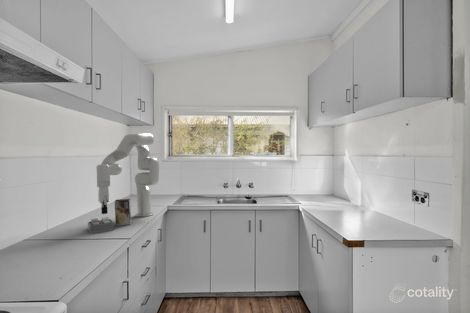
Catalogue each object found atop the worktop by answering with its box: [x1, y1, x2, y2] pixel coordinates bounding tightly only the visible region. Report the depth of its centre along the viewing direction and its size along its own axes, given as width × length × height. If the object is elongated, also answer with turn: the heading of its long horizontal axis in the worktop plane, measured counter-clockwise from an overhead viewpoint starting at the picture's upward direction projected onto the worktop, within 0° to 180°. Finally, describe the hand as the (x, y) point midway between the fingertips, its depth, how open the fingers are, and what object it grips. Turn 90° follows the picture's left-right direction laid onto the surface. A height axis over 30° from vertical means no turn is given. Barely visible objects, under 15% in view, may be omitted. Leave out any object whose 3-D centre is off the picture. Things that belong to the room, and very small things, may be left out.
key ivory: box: [101, 216, 110, 222], centre depth 194 cm, size 4×4×4 cm
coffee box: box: [114, 198, 132, 227], centre depth 203 cm, size 9×6×16 cm
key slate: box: [90, 217, 99, 223], centre depth 191 cm, size 4×4×4 cm
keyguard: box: [87, 218, 115, 234], centre depth 190 cm, size 13×13×4 cm
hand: (104, 213), depth 194 cm, fingers closed
